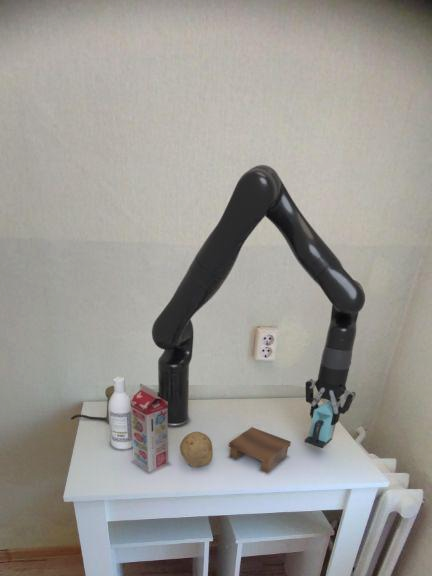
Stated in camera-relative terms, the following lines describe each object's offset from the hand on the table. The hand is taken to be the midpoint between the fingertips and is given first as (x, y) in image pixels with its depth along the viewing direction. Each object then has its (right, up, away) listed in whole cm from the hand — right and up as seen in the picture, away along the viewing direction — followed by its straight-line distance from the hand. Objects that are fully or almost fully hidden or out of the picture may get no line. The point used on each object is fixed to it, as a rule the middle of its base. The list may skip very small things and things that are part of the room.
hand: (323, 420), depth 130 cm
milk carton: (-48, -12, -4) cm, 50 cm away
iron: (+2, +1, +2) cm, 3 cm away
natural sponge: (-36, -13, -3) cm, 38 cm away
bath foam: (-57, -6, +4) cm, 58 cm away
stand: (-18, -10, +2) cm, 21 cm away
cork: (-62, +2, +16) cm, 64 cm away
